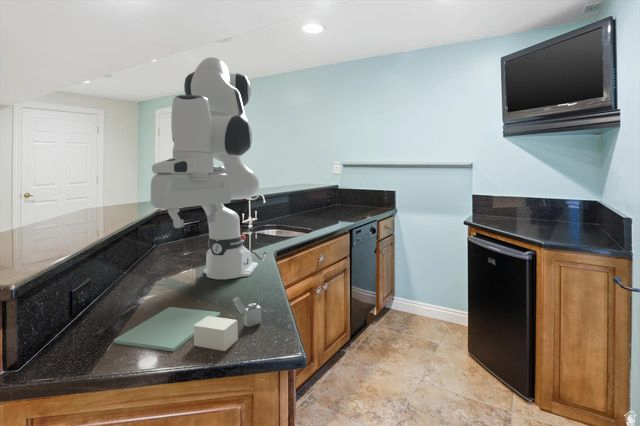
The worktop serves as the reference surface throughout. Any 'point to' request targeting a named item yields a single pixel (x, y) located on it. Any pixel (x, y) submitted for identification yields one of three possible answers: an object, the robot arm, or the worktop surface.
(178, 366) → the worktop surface
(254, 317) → the lighter
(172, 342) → the mat
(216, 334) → the card box
